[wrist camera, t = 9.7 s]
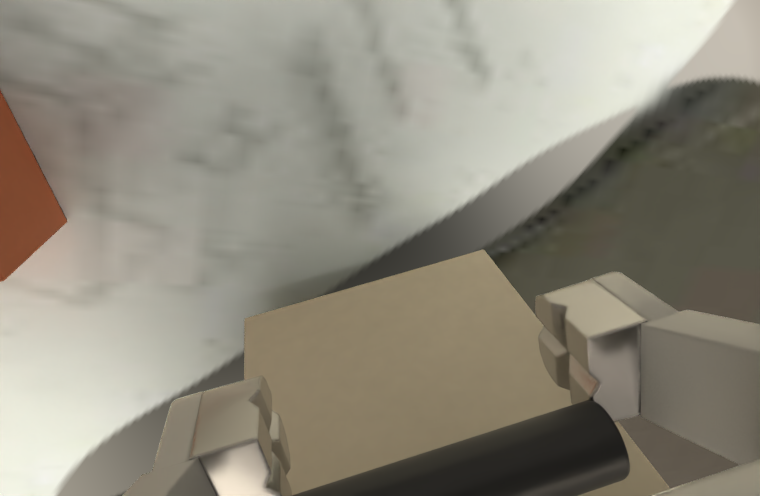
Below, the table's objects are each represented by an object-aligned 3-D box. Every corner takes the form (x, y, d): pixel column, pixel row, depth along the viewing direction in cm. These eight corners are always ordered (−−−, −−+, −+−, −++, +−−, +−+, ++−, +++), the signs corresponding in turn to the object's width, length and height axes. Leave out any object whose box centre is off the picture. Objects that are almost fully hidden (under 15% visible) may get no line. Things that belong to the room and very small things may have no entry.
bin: (309, 469, 20) (209, 238, 15) (498, 409, 21) (476, 165, 15) (362, 903, 11) (146, 748, 5) (694, 770, 12) (828, 504, 6)
